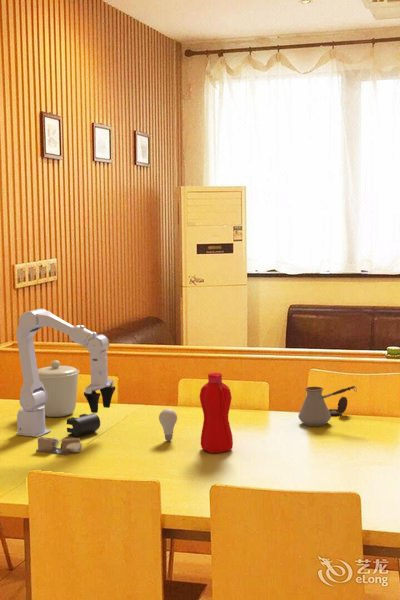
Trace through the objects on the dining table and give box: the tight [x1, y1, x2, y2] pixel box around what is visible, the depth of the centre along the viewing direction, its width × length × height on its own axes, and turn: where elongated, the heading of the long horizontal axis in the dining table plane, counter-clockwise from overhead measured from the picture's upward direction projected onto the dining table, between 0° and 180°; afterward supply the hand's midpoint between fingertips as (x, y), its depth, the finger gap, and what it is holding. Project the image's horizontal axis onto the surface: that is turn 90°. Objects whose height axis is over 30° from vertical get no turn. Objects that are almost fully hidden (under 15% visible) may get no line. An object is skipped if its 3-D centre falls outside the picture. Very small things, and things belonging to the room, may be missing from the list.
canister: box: [37, 359, 80, 418], centre depth 309 cm, size 18×18×21 cm
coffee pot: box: [297, 385, 358, 427], centre depth 283 cm, size 21×12×15 cm, turn 59°
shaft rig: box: [35, 436, 83, 456], centre depth 261 cm, size 14×6×4 cm, turn 64°
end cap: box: [66, 413, 101, 438], centre depth 280 cm, size 10×7×7 cm
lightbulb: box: [158, 408, 178, 442], centre depth 269 cm, size 6×6×11 cm
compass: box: [328, 395, 348, 417], centre depth 297 cm, size 8×8×7 cm
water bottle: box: [199, 372, 234, 454], centre depth 256 cm, size 9×11×25 cm
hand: (100, 409), depth 274 cm, fingers open, 7 cm apart
